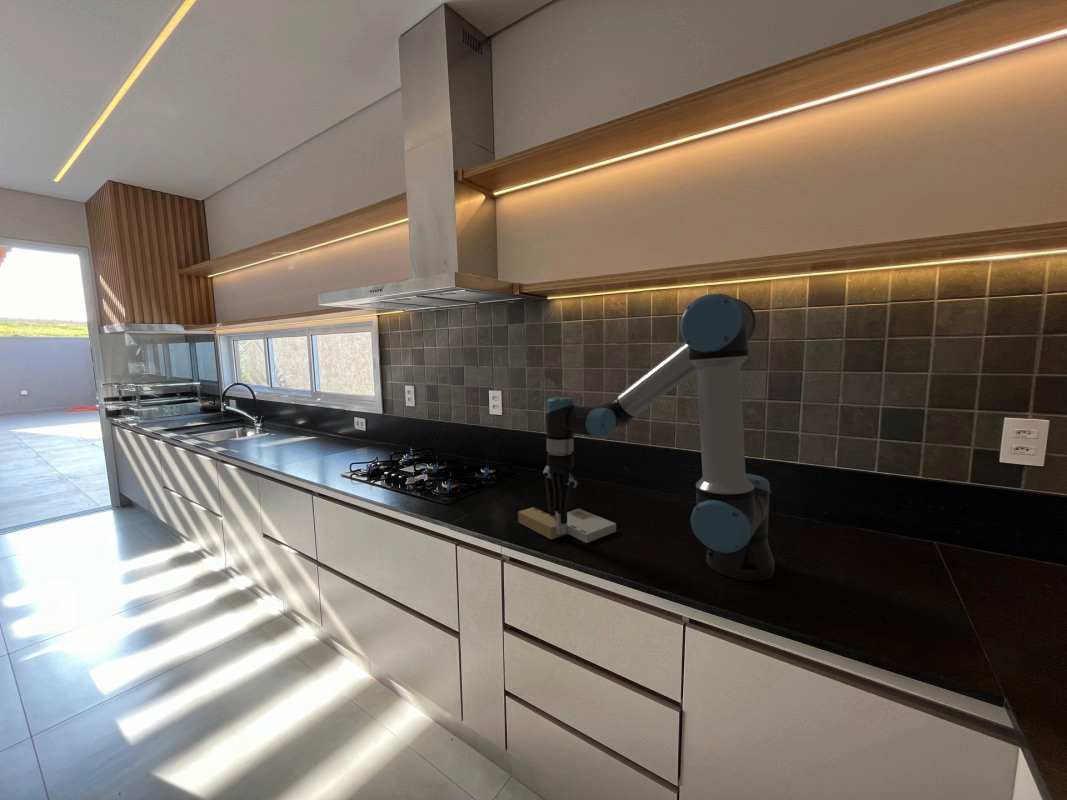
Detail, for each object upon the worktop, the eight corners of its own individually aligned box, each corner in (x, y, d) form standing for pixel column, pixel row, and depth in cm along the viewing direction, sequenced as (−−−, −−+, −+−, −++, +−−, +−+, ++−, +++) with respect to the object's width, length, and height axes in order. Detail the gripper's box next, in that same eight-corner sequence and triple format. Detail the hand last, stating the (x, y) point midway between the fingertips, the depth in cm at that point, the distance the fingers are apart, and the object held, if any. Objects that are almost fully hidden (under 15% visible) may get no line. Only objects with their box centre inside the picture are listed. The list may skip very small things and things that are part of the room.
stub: (567, 533, 127) (566, 521, 127) (551, 539, 124) (551, 527, 123) (533, 517, 140) (533, 506, 139) (518, 522, 136) (518, 511, 136)
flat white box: (615, 531, 129) (616, 522, 128) (586, 543, 121) (586, 533, 121) (578, 515, 141) (578, 507, 141) (550, 525, 134) (550, 516, 134)
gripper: (586, 454, 119) (586, 537, 122) (555, 446, 129) (556, 522, 132) (565, 458, 114) (566, 544, 117) (535, 450, 125) (536, 529, 127)
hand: (561, 533), depth 125 cm, fingers closed
